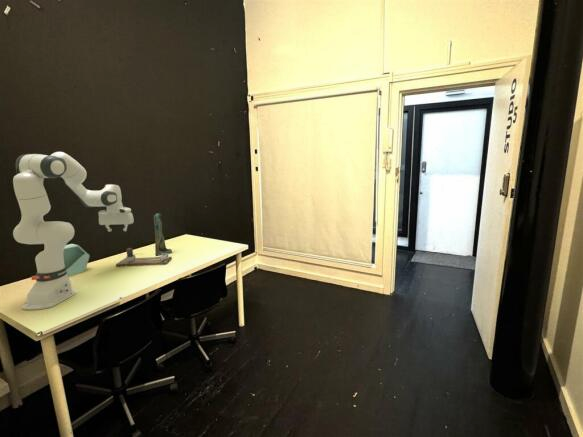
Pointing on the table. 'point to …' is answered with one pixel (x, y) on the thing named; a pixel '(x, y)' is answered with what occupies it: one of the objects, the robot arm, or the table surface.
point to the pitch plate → (146, 261)
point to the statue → (159, 237)
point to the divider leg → (130, 255)
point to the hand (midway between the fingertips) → (117, 231)
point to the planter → (75, 259)
